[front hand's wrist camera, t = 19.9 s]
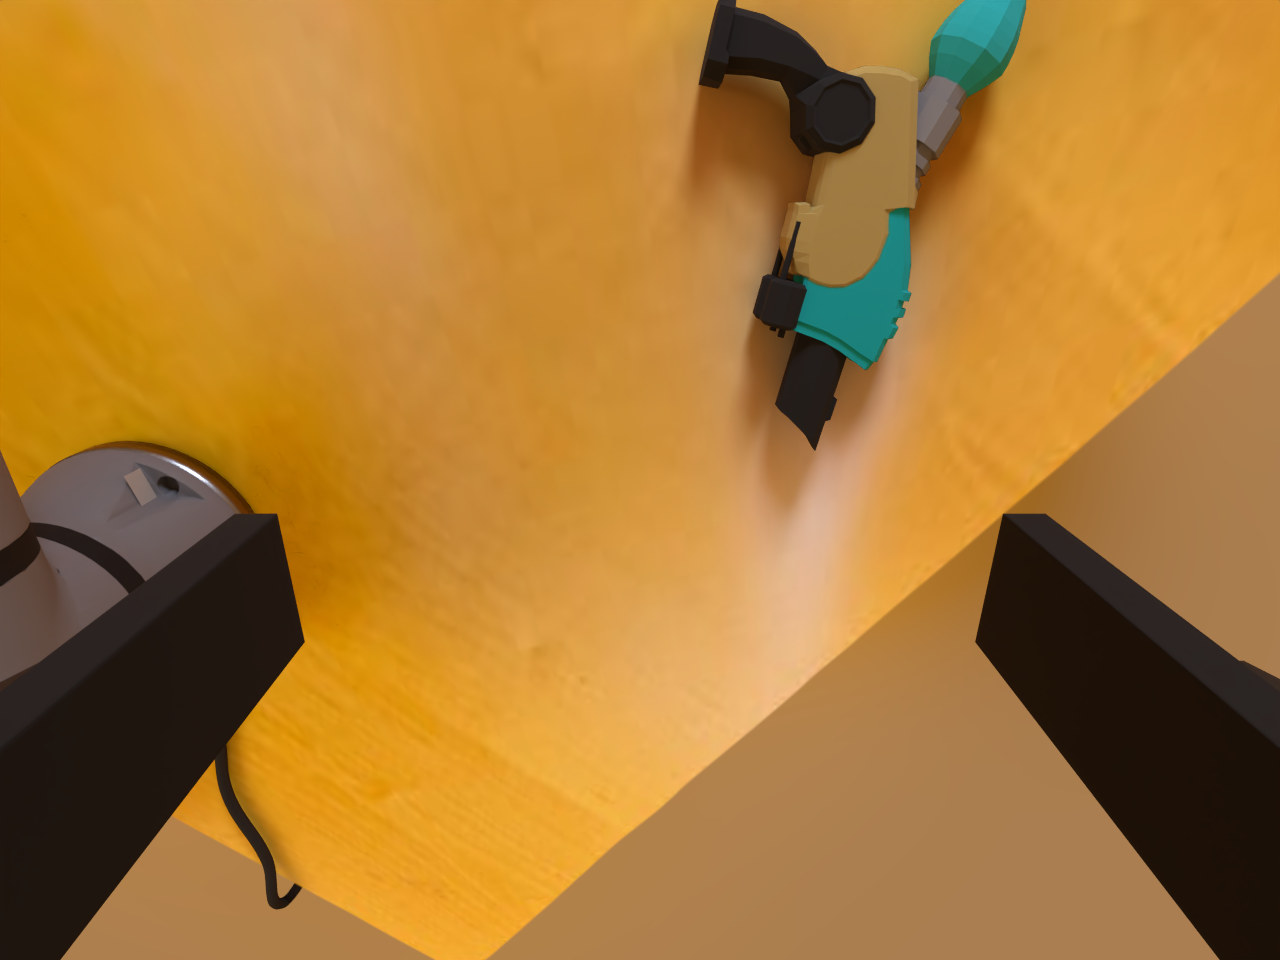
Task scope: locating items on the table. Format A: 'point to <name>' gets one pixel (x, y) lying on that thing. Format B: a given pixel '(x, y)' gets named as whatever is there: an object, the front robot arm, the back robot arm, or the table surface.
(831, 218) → the toy gun
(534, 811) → the table surface
